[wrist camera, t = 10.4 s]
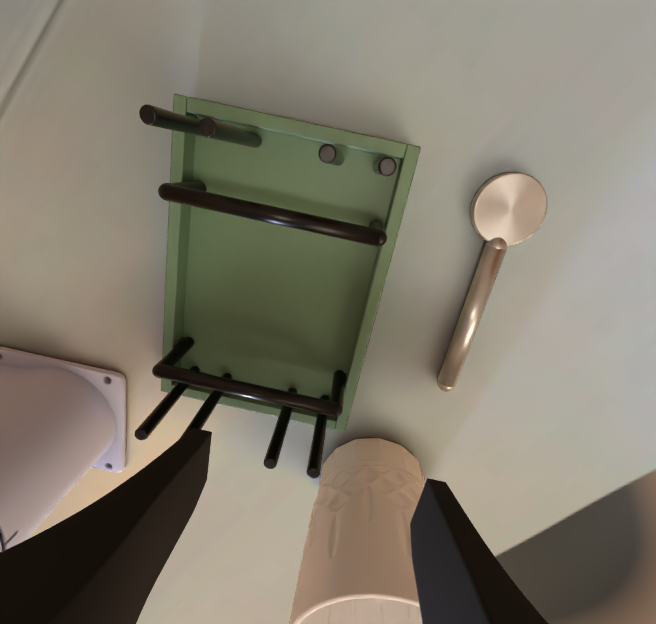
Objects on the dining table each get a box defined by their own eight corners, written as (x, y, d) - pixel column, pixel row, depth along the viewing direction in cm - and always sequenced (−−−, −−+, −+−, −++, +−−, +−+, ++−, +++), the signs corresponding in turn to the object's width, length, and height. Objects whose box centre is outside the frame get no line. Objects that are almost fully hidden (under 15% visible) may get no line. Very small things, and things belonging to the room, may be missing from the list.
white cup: (394, 409, 23) (416, 571, 14) (453, 496, 25) (507, 688, 16) (290, 458, 25) (248, 628, 16) (352, 535, 27) (348, 726, 18)
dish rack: (337, 405, 23) (330, 483, 17) (181, 371, 23) (122, 436, 17) (398, 164, 18) (415, 162, 12) (197, 121, 18) (121, 99, 12)
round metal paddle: (470, 391, 22) (474, 400, 21) (413, 379, 22) (415, 387, 21) (553, 180, 18) (564, 181, 17) (483, 165, 18) (490, 165, 17)
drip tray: (345, 413, 24) (344, 432, 22) (174, 375, 24) (160, 391, 22) (415, 148, 18) (421, 146, 16) (191, 100, 18) (173, 93, 16)
